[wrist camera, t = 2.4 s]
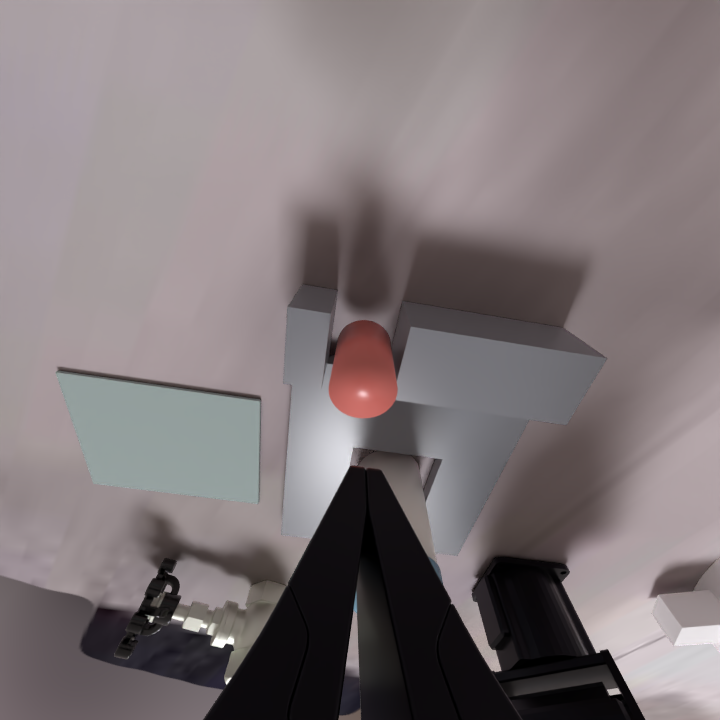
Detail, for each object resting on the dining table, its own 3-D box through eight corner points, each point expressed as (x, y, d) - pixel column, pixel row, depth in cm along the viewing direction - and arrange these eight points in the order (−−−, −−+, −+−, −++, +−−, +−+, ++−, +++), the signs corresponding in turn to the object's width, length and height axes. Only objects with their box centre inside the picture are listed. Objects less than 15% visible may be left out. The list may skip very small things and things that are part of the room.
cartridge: (428, 453, 21) (458, 581, 14) (412, 498, 24) (431, 629, 17) (361, 443, 21) (358, 570, 14) (351, 490, 23) (344, 620, 16)
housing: (563, 327, 17) (606, 358, 14) (454, 543, 26) (465, 591, 23) (302, 284, 16) (287, 306, 13) (284, 522, 25) (272, 569, 22)
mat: (261, 399, 20) (260, 401, 19) (259, 501, 24) (258, 503, 24) (58, 370, 19) (55, 372, 19) (95, 481, 23) (93, 483, 23)
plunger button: (395, 324, 15) (404, 366, 11) (384, 371, 16) (389, 422, 13) (341, 316, 15) (332, 355, 11) (334, 364, 16) (324, 413, 12)
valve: (304, 579, 29) (173, 540, 27) (288, 675, 23) (120, 637, 21) (278, 610, 32) (158, 578, 30) (259, 703, 26) (107, 672, 24)
